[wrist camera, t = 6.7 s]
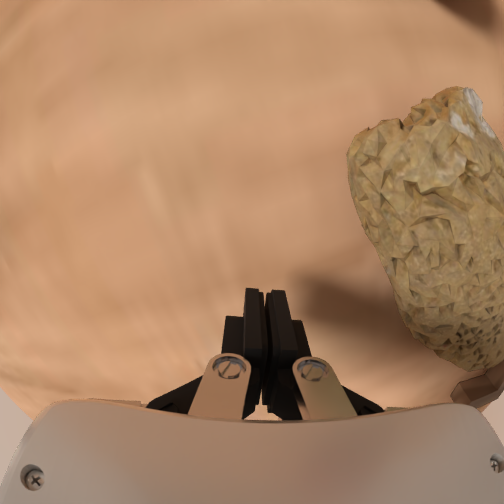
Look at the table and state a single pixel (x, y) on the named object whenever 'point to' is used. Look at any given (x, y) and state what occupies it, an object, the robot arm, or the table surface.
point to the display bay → (481, 388)
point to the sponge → (438, 222)
